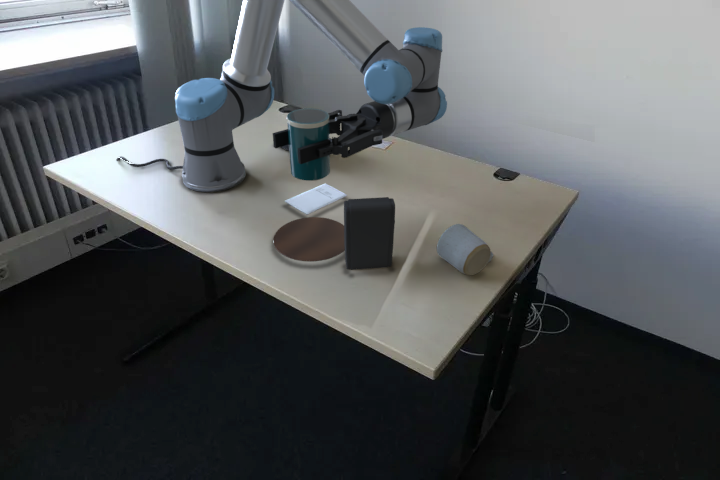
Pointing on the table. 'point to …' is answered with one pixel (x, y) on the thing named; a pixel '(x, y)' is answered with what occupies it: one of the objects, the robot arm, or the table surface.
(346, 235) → the card reader
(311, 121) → the tumbler
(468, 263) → the ceramic mug
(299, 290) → the table surface
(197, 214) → the table surface
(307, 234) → the plate
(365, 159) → the table surface
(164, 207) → the table surface
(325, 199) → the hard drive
